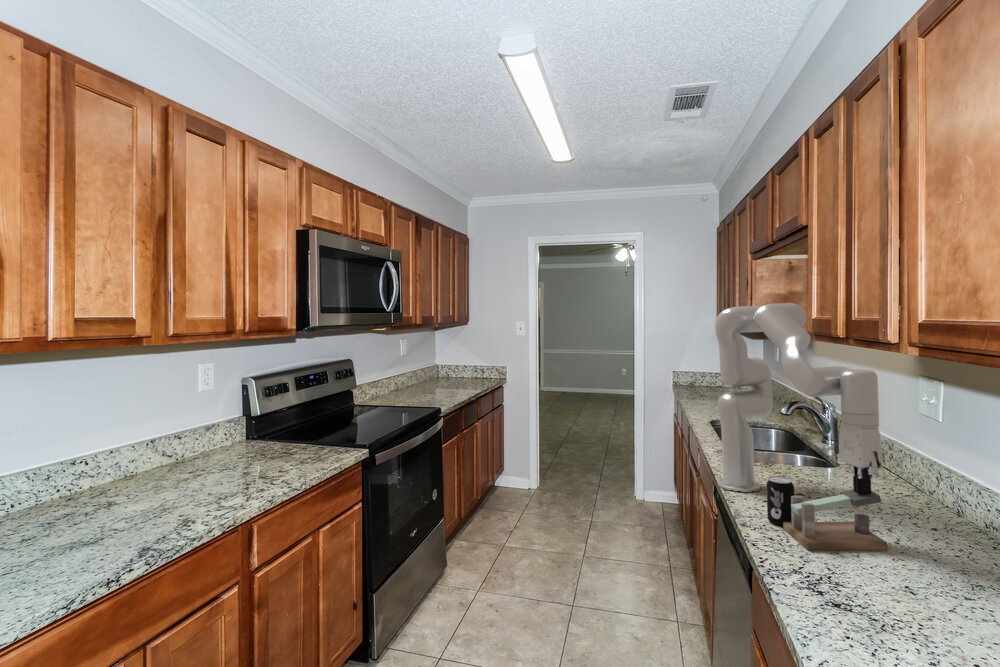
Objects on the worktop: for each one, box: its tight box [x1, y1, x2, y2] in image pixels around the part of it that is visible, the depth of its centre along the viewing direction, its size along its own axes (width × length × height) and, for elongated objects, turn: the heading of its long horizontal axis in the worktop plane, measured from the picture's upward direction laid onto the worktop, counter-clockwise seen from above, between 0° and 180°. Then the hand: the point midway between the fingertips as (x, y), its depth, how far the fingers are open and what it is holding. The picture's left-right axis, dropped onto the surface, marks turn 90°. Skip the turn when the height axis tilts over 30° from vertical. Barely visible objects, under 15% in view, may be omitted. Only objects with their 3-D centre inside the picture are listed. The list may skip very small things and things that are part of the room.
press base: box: [782, 495, 888, 552], centre depth 123 cm, size 12×18×10 cm, turn 85°
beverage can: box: [766, 475, 795, 527], centre depth 134 cm, size 7×7×12 cm
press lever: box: [791, 489, 882, 515], centre depth 123 cm, size 6×19×2 cm, turn 85°
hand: (862, 492), depth 122 cm, fingers closed
